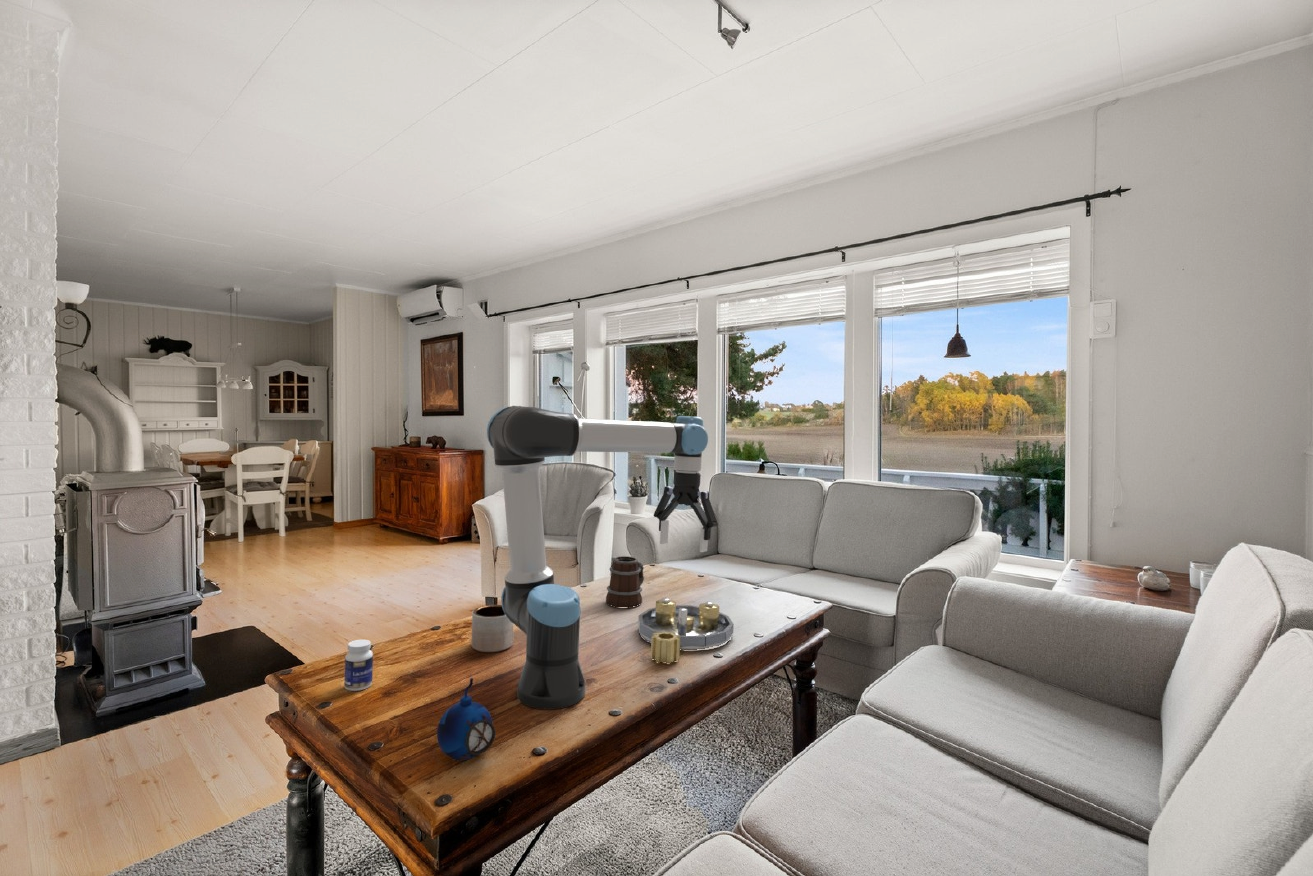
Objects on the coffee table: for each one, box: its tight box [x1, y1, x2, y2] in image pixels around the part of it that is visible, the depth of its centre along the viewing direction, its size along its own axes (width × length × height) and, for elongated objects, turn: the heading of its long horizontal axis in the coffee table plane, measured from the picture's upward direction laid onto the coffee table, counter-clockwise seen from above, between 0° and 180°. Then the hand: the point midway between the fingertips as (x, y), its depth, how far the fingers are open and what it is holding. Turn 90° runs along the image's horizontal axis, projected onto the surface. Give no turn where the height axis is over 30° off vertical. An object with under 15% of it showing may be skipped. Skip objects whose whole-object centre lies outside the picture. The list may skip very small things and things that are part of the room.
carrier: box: [637, 597, 734, 650], centre depth 180 cm, size 27×27×10 cm
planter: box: [470, 604, 514, 654], centre depth 166 cm, size 11×11×10 cm
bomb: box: [436, 677, 497, 761], centre depth 113 cm, size 10×11×15 cm
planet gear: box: [650, 631, 681, 664], centre depth 161 cm, size 7×7×6 cm
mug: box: [605, 555, 645, 609], centre depth 208 cm, size 16×12×15 cm
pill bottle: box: [343, 639, 374, 692], centre depth 140 cm, size 6×6×10 cm
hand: (683, 547), depth 173 cm, fingers open, 13 cm apart
